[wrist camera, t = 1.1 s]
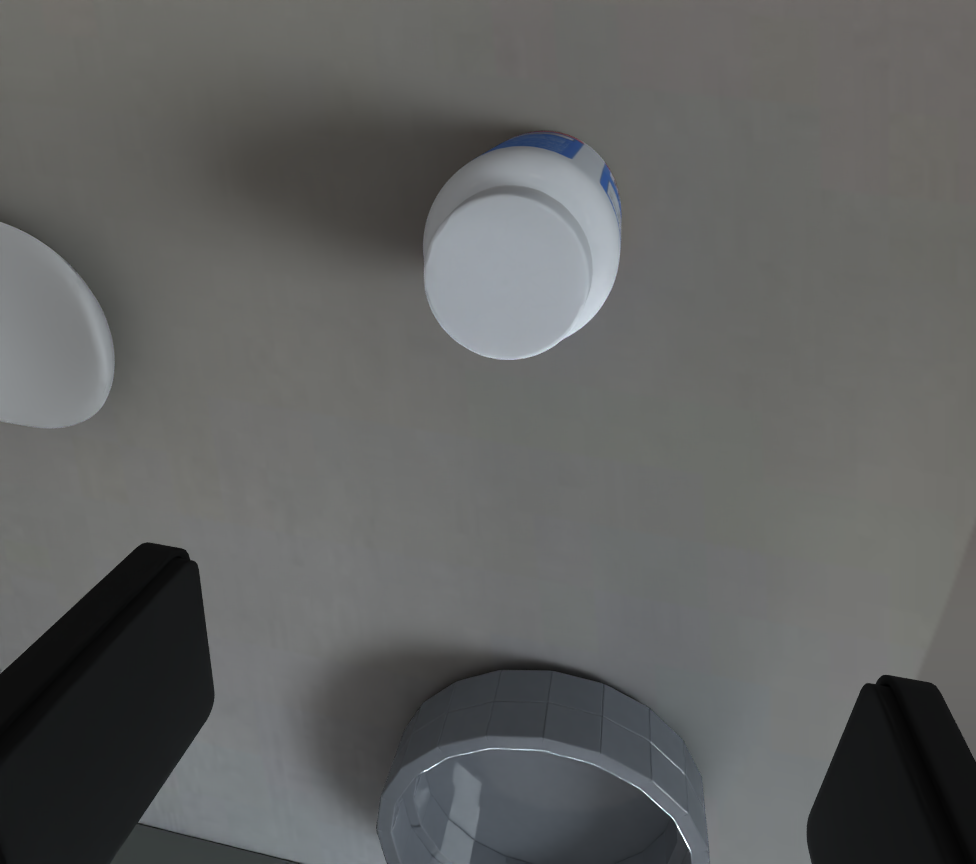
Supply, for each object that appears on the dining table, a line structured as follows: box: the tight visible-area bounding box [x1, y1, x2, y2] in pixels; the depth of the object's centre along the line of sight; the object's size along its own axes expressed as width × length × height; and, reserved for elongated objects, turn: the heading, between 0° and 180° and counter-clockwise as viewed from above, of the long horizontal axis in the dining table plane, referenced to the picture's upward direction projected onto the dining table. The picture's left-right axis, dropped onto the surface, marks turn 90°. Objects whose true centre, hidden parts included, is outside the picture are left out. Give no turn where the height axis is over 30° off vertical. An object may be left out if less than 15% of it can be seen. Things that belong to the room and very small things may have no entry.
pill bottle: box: [423, 131, 621, 360], centre depth 21 cm, size 6×5×10 cm
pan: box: [376, 670, 710, 864], centre depth 36 cm, size 16×16×4 cm
